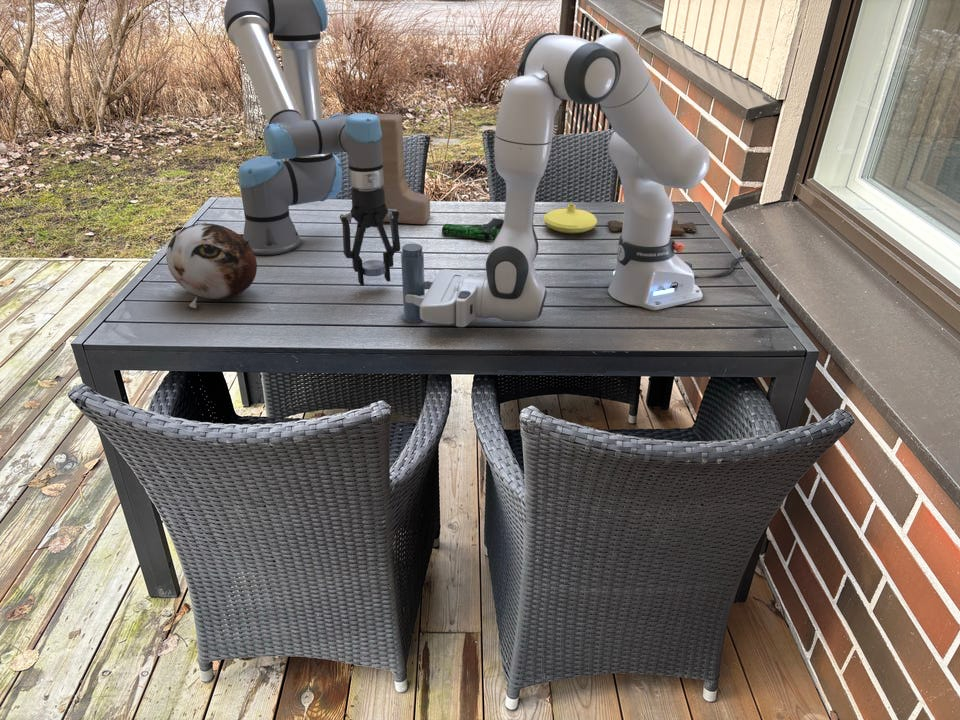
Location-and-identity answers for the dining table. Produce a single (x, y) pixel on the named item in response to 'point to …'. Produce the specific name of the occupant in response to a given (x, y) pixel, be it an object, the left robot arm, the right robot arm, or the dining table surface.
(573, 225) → the yellow knobbed disc
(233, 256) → the cat face balloon
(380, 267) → the lid
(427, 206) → the decorative block
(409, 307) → the grey cylinder
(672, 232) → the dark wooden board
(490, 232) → the handgun
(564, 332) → the dining table surface
